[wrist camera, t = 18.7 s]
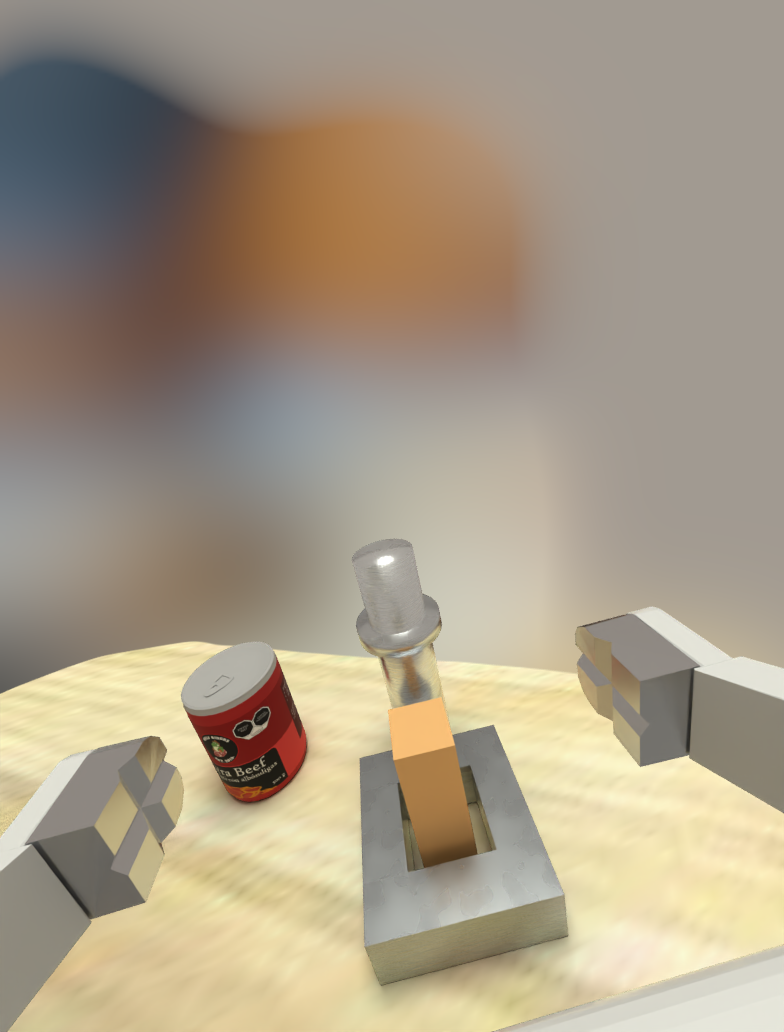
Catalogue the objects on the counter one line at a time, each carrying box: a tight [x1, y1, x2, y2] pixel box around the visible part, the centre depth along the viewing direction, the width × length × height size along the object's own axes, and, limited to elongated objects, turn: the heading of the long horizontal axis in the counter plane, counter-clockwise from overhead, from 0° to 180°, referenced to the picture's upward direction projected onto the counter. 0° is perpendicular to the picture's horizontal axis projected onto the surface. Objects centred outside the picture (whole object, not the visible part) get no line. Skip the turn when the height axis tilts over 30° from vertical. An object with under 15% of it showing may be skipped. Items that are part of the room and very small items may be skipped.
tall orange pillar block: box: [388, 697, 478, 868], centre depth 25 cm, size 4×4×12 cm
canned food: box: [181, 642, 306, 802], centre depth 35 cm, size 8×8×11 cm
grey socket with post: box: [352, 539, 568, 985], centre depth 27 cm, size 16×11×20 cm
